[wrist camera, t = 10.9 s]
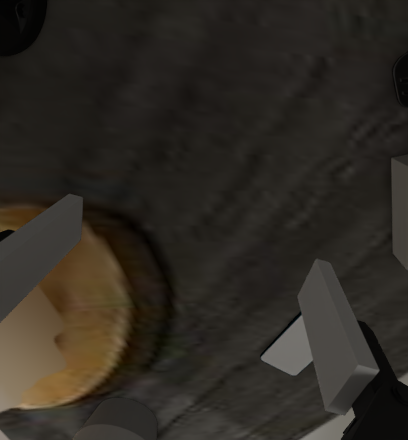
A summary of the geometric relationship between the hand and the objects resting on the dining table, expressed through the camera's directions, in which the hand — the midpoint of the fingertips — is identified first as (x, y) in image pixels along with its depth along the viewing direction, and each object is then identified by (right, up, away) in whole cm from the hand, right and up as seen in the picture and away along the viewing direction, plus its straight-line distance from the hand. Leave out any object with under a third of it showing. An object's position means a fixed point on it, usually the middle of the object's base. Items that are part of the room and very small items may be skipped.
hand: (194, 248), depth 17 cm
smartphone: (+18, -19, +35) cm, 44 cm away
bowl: (-17, -43, +51) cm, 69 cm away
